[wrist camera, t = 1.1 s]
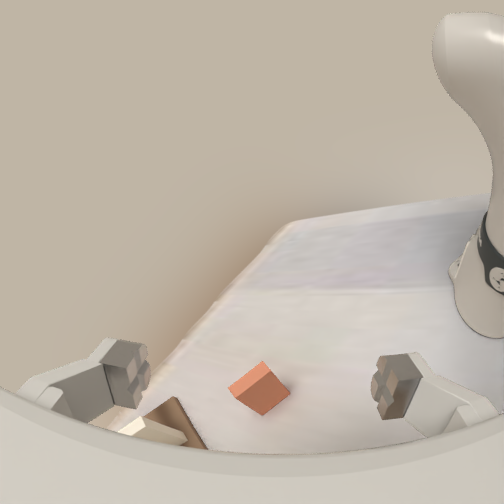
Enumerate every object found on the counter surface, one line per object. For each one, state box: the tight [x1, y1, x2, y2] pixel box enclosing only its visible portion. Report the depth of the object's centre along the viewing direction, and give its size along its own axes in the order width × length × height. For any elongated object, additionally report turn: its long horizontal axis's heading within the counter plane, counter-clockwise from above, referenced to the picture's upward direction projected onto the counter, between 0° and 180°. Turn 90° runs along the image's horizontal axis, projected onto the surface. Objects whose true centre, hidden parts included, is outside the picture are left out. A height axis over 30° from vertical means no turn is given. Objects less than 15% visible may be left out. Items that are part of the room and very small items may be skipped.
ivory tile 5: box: [117, 416, 188, 446], centre depth 32 cm, size 2×5×10 cm, turn 125°
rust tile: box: [228, 361, 290, 415], centre depth 34 cm, size 2×5×10 cm, turn 125°
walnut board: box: [144, 396, 208, 450], centre depth 32 cm, size 8×26×1 cm, turn 35°
